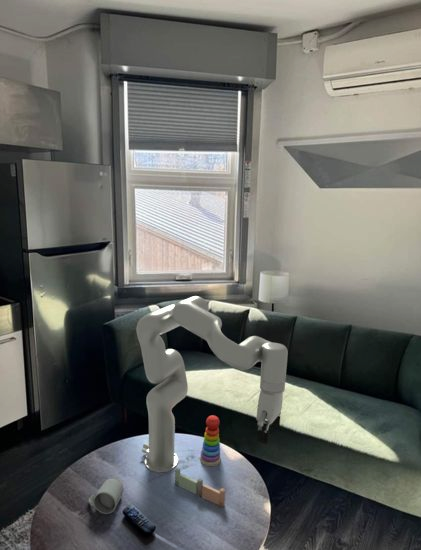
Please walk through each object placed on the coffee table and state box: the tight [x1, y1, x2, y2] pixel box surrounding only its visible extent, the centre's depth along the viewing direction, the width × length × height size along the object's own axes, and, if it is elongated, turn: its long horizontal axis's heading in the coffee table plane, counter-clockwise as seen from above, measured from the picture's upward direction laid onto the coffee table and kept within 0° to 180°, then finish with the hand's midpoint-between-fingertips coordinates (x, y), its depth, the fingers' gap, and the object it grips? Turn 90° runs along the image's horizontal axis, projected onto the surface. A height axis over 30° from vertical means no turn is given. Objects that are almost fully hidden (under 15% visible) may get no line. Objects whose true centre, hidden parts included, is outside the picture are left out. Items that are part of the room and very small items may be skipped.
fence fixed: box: [174, 467, 198, 495], centre depth 138 cm, size 9×2×6 cm, turn 60°
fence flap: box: [196, 478, 226, 508], centre depth 133 cm, size 10×2×6 cm, turn 60°
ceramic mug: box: [88, 477, 124, 515], centre depth 131 cm, size 11×8×8 cm
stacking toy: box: [199, 414, 222, 467], centre depth 151 cm, size 8×8×19 cm
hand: (268, 433), depth 125 cm, fingers open, 9 cm apart
